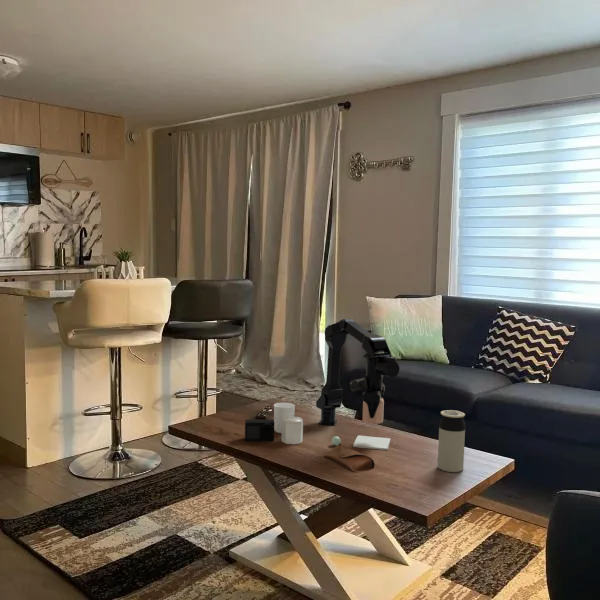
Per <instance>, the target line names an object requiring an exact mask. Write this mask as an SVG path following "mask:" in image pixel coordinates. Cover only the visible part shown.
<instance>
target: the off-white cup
mask: <svg viewBox="0 0 600 600" xmlns="http://www.w3.org/2000/svg"><path fill="white" fill-rule="evenodd" d="M303 435H304V420H303V418H302V417H299V416H294V417H285V418H283V421H282V433H281V442H283V444H286V445H287V444H288V445H298V444H301V443H302V442H303V441H304V439H303V438H304V437H303Z"/></svg>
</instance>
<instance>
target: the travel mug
mask: <svg viewBox="0 0 600 600" xmlns="http://www.w3.org/2000/svg"><path fill="white" fill-rule="evenodd" d="M440 415H441V419H440V421H439V426H438V444H437V445H438V447H437V449H438V451H437V468H438V469H440V470H442V471H444V472H447V473H460V472H461V471H463V470H464V463H465V462H464V461H465V459H464V458H465V437H466V436H465V435H466V423H465V420H464V417H465V416H466V413H464V412H462V411H460V410H453V409H449V410H448V409H447V410H442V411H440Z"/></svg>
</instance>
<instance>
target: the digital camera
mask: <svg viewBox="0 0 600 600" xmlns="http://www.w3.org/2000/svg"><path fill="white" fill-rule="evenodd" d="M244 422H245V423H244V436H245V437H244V441H245V442H274V441H275V423H274V419H256V418H255V419H254V418H253V419H245V421H244Z"/></svg>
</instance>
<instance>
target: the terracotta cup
mask: <svg viewBox="0 0 600 600" xmlns="http://www.w3.org/2000/svg"><path fill="white" fill-rule="evenodd" d="M384 404H385V400H384V397H382V398H381V401H380V403H379V406H378V408H377V410H376V413H375V415H374V418H370V415H369V410H368V405H367V403H366V402H364V401H363V400H362V422H364V423H366V424H373V425H377V424H383V422H384V406H385V405H384Z"/></svg>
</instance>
